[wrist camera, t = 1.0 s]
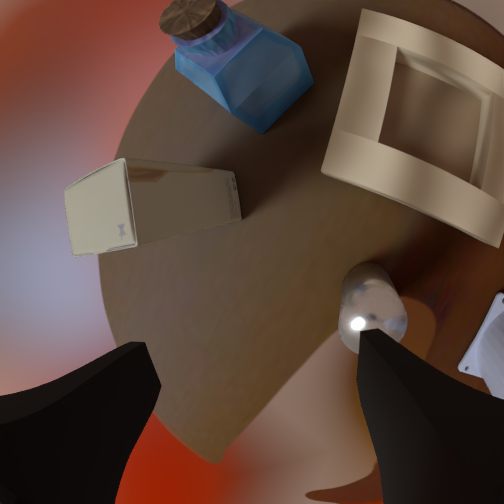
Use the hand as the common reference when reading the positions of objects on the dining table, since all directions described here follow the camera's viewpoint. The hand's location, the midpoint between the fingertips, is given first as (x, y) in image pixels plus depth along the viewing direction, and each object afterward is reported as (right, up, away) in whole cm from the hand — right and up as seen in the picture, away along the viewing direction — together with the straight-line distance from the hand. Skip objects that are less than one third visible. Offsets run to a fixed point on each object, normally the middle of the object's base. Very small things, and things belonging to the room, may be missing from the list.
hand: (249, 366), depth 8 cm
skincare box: (-4, +8, +15) cm, 18 cm away
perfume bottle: (+1, +17, +12) cm, 21 cm away
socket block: (+14, +13, +8) cm, 21 cm away
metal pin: (+9, +1, +12) cm, 15 cm away
